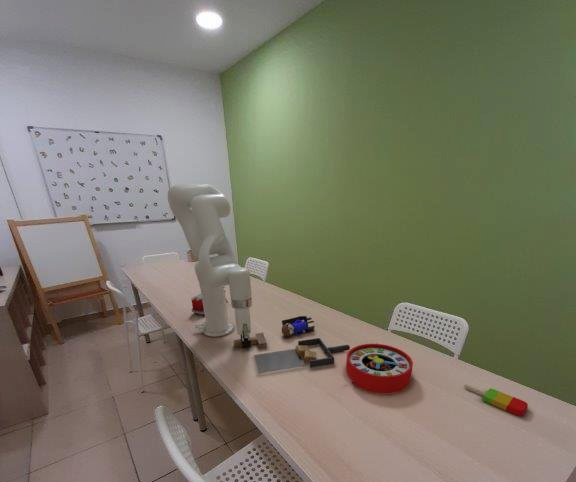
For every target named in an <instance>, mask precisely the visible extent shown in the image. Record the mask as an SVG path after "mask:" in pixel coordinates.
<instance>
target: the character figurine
mask: <svg viewBox="0 0 576 482" xmlns="http://www.w3.org/2000/svg"><path fill="white" fill-rule="evenodd" d="M314 322H315V321H314V320H312V317H310V316H309V317H308V316H307V315H300V316H295V317H292V318H287V319H283V320H281V323H282V326H281V333H282V335H284V337H291V336H293V335H294V336H300V335H303V334H305V333H310V331H311V330H315V328H316V325H312V326H309V324H313V323H314ZM299 332H301V333H300V334H299Z"/></svg>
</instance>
